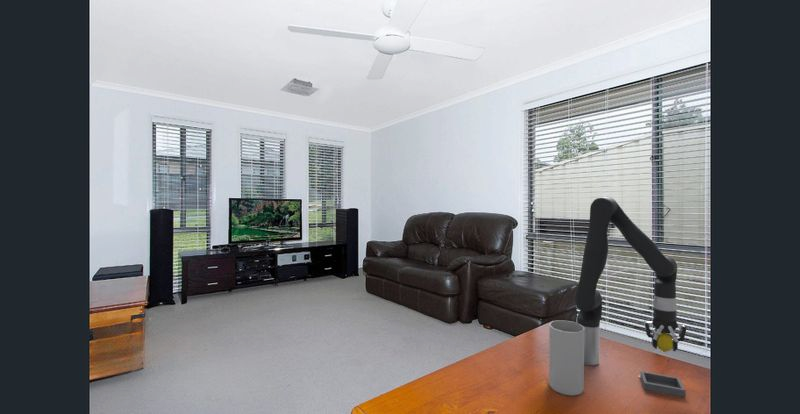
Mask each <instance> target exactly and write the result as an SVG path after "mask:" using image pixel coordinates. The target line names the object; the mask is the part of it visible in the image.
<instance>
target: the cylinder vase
mask: <svg viewBox="0 0 800 414" xmlns="http://www.w3.org/2000/svg"><path fill="white" fill-rule="evenodd" d="M548 331H549V335H548V336H549V339H548V340H549V344H548V346H549V349H548V350H549V351H548V352H549V353H548V359H549V360H548V361H549V363H548V384H549V386H550V388H551V389H552V390H553V391H554V392H557V393H559V394H562V395H565V396H572V397H573V396H579V395H581V394H582V393H583V392H584V389H585V387H584V386H585V385H584V383H585V382H584V380H585V379H584V375H585V372H584V371H585V369H584V367H585V364H584V327H583V326H582V325H580V324H578V323H577V322H575V321H570V320H552V321H550V322H549V330H548Z"/></svg>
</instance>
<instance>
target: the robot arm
mask: <svg viewBox="0 0 800 414" xmlns="http://www.w3.org/2000/svg"><path fill="white" fill-rule="evenodd" d="M610 223H611V224H613V226H615V228H617V230H619V232H620V233H621V235H622V236H623V238H624V240H625V241H626V242H627V243H628V244H629V245H630V247H631V248H633V250H634V251H636V252H637V254H639V256H641V257H642V259H643V260H644V261H645V263H646V264H647V266H648V267H649V268H650V269H651V271H653V272H654V273H655V274H656V275H655V282H654V287H653V288H654V290H653V291H654V292H653V300H652V306H653V307H652V308H653V309H652V310H653V312H652V313H653V316H652V317H653V318H652V320H651V321H648V320H644V321H643V325H644V328H645V329H644V330H645V333H646V336H647V337H648V338H651V345H652V347H653V348H654V349H655V350H658V346H657V337H658V335H659V334H660V333H666V334H668V335H670V336H671V338H672V340H673V347H672V349H671V350H672V351H673V352H677V350H678V345H679V342H684V341H685V337H686V331H687V330H688V329H687V327H686V326H685V324H679V323H678V322H677V312H678V311H677V308H678V307H677V298H676V297H677V288H676V287H677V286H676V281H677V275H678V263H677V262H676V260H675V259H674V258H672V257H670V256H669V255H668V256H667V255H666V256H665V254H664V253H662V252H661V251H660V250H659V247H658V245H657V243H655V242H654V241H653V240H652V239H650V237H649V236H647V234H646V233H645V232H644V231H642V230H641V229H640V227H638V226H637V225H636V224H635V223H634V222H633V221H632V220H631V219H630V217H629V216H628V215H627V214H626V212H624V210H623V208H622V207H621V206H620V205H619V204H618V202H617V201H616V200H615V198H613V197H610V196H601V197H598V198H595V199H594V200H593V201H592V202H591V204H590V208H589V225H588V226H589V227H588V231H587V236H586V239H585V246H584V250H583V254H582V255H583V257H582V262H581V263H582V264H581V269H580V274H579V279H578V284H577V286H576V287H577V288H576V290H575V294H574V300H573V301H574V303H575V306H576V308H577V309H578V310H579V312H578V315H577V317H576V323H578V324H580V325H582V326H583V327H584V366H585V365H586V366H598V365H599V364H600V328H601V327H600V325H601V324H600V323H601V319H602V315H603V313H602V312H603V297H602V294H601V293H600V291H599V290H597V285H598V282H599V279H600V278H601V275H602V273H603V272H604V269H605V267H606V263H607V261H608V260H607V259H608V255H609V240H608V239H609V238H608V229H609V225H610ZM652 326H653V327H654V330H653V333H651V329H650V328H651V327H652ZM676 329H678V330H679V332H678V333H679V334H678V336H676V333H675V332H674V331H676Z"/></svg>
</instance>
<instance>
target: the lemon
mask: <svg viewBox="0 0 800 414" xmlns="http://www.w3.org/2000/svg"><path fill="white" fill-rule="evenodd" d="M672 347H673V338H672V336H671V334H667V333H660V334H659V335H658V337H657V349H659V350H661V351H662V352H663V353H667V352H670V351H671V350H672Z"/></svg>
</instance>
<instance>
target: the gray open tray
mask: <svg viewBox="0 0 800 414" xmlns="http://www.w3.org/2000/svg"><path fill="white" fill-rule="evenodd" d="M639 376H640V377H639V378H640V381H641V385H642V388H643V391H645V392H651V393H657V394H662V395H667V396H671V397H677V398H682V399H686V388H685V387H684V385H683V383H682V381H681V378H680V377H676V376H670V375H665V374H661V373H660V374H659V373H653V372H647V371H640V375H639Z"/></svg>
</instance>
